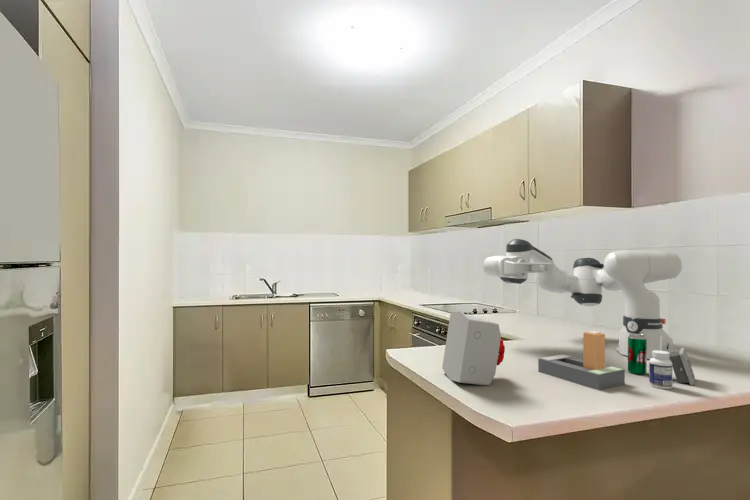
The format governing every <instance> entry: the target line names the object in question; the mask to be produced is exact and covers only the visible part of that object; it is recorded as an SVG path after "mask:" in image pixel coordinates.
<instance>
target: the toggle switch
mask: <svg viewBox="0 0 750 500" xmlns="http://www.w3.org/2000/svg"><path fill="white" fill-rule="evenodd" d="M537 359H538V360H537V361H538V363H537V365H538V368H537V371H538V372H539V373H542V374H545V375H549V376H552V377H556V378H559V379H562V380H564V381H565V380H566V381H569V382H571V383H575V384H579V385H582V386H586V387H588V388H590V389H591V388H592V389H594V390H597V391H599V390H604V389H609V388H611V387H612V388H613V387H617V386H620V385H625V383H626V382H625V377H626V374H625V373H626V372H625V369H623V368H620V367H615V366H612V365H611V366H610V365H608V364H607V365H606V364H605V368H602V369H596V370H591V369H587V368H584V367H583V359H582V358H578V357H575V356H572V355H567V354H557V355H552V356H551V355H550V356H543V357H539V358H537Z"/></svg>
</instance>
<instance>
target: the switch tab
mask: <svg viewBox="0 0 750 500" xmlns="http://www.w3.org/2000/svg"><path fill="white" fill-rule="evenodd" d="M582 336H583V337H582V338H583V340H582V341H583V344H582V350H583V351H582V355H583V356H582V357H583V367H584V368H587V369H591V370H596V369H602V368H605V365H606V355H605V354H606V353H605V352H606V334H605V333H601V332H599V331H596V330H595V331H594V330H588V331H587V332H583V334H582Z"/></svg>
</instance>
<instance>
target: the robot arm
mask: <svg viewBox="0 0 750 500" xmlns="http://www.w3.org/2000/svg"><path fill="white" fill-rule="evenodd" d="M505 249H506V250H505V251H506V253H505V255H492V256H488V257H486V258H485V259H484V261H483V265H482V266H483V267H482V269H483V272H484V274H485V275H488V276H490V277H494V278H495V277H497V278H499V279H500V280H502V281H503V282H504V283H505V284H506V283H507V284H518V285H521V284H523V283H525V282H526V281H527V280H528V277H529V274H535V281H536V283H537V285H538V287H540V288H541V289H543V291H547V292H551V293H556V294H558V293H559V294H564V293H565V294H566V293H570V294H571V295H570V298H571V299H573V300H574V301H575V302H576V303H577V304H579V305H581V306H584V307H594V306H598V305H600V304H601V303H602V301H603V295H602V292H603V290H602V289H603V288H604V289H605V290H607V291H612V292H616V291H621V292H622V295H623V304H624V305H623V306H624V307H623V308H624V314H623V316H622V326H623V327H622V328H621V329H620V331H619V340H618V346H616V347H615V351H617V352H619V354H621V355H624V356H626V357H628V336H629V334H642V335H645V337H646V339H647V360H650V359H651V358H653V356H652V351H654V350H659V351H666V352H669V355H670V353H671V352H676V351H677V350H674V340H673V338H672V337H671V336H670V335H669V334H668V333H667V332H666V331H665V330H664V329H663V325H665V324H666V323H667V319H666V318H662V317H661V318H660V314H661V313H660V310H661V309H660V306H661V303H660V302H661V300H660V297H659V296H658V295H657V294H656V292H654V291H652V290H651V289H648V288H646V286H645V284H650V283H654V282H655V283H656V282H659V281H665V280H672V279H675V278H677V277H678V276H679V275H680V274H681V273H682V270H683V262H682V259H681V258H680V256H679V255H678V254H677V253H674V252H671V251H666V250H665V251H664V250H650V249H649V250H643V249H641V250H640V249H635V250H634V249H631V250H630V249H629V250H628V249H623V250H622V249H621V250H617V251H616V250H615V251H612V252H609V253H608V254H607V255H606V256H605V258H604V261H603V263H600V261H599V260H598V259H596V258H594V257H589V256H588V257H587V256H583V257H580V258H577V259H575V261H574V262H573V267H572V269H573V275H572V274H571V273H569V272H568V271H566V270H564V269H561V268H559V267H558V266H557V265H556V264H555V263H554V260H553V258H552V257H551V256H550V255H548V254H546V253H545V252H544V251H541V250H540V249H539V248H537V247H535V246H533V245H532V243H530V241H528V240H526V239H522V238H513V239H511V240H509V242H508V243H506V248H505ZM531 260H532V261H533V262H531ZM668 359H669V360H670V358H668Z"/></svg>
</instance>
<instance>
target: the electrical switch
mask: <svg viewBox="0 0 750 500" xmlns="http://www.w3.org/2000/svg"><path fill="white" fill-rule="evenodd" d="M675 351H676V352H671V353H670V355H669V356H670V357H669V358H670V361H671V362H672V371H673V372H674V373H673V374H674V375H675V378H676V381H677V383H678V384H681V383H682V384H683V383H684V384H687V383H688V384H689V385H690V386H694V385H695V379H696V378H695V373H694V370H693V367H692V360H691V359H689V355H688V353H687V351H686V349H685V347H681V348H680V350H675Z"/></svg>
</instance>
